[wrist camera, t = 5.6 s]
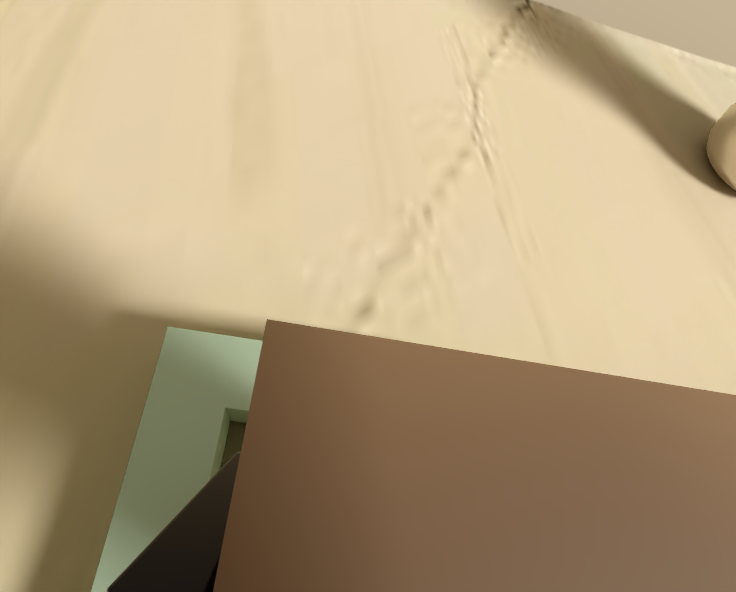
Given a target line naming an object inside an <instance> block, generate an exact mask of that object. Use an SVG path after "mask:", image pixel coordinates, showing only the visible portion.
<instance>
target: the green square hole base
mask: <svg viewBox="0 0 736 592" xmlns="http://www.w3.org/2000/svg"><path fill="white" fill-rule="evenodd" d="M262 342H263V341H261V340H255V339H248V338H241V337H235V336H228V335H222V334H215V333H209V332H202V331H196V330H189V329H183V328H176V327H169V326H168V327H167V331H166V334H165V338H164V341H163V345H162V348H161V352H160V355H159V358H158V362H157V365H156V369H155V372H154V376H153V379H152V383H151V386H150V389H149V393H148V396H147V400H146V403H145V407H144V410H143V414H142V417H141V420H140V424H139V427H138V431H137V434H136V438H135V441H134V445H133V448H132V452H131V455H130V458H129V462H128V465H127V469H126V472H125V476H124V479H123V483H122V486H121V489H120V493H119V496H118V500H117V503H116V507H115V510H114V514H113V517H112V521H111V524H110V527H109V531H108V534H107V538H106V541H105V545H104V548H103V552H102V555H101V558H100V562H99V565H98V569H97V572H96V576H95V579H94V583H93V586H92V590H91V592H107V588H108V587H109V586H110V585H111V584H112V583H113V582H114V581H115V580H116V579H117V577H118V576H119V575H120V574H121V573H122V572H123V571H124V570H125V569H126V568H127V567H128V566H129V565H130V564H131V563H132V562H133V561H134V560H135V558H136V557H137V556H138V555H139V554H140V553H141V552H142V551H143V550H144V549H145V548H146V547H147V546H148V545H149V544H150V543H151V542H152V541H153V539H154V538H155V537H156V536H157V535H158V534H159V533H160V532H161V531H162V530H163V529H164V528H165V527H166V526H167V525H168V524H169V523H170V521H171V520H172V519H173V518H174V517H175V516H176V515H177V514H178V513H179V512H180V511H181V510H182V509H183V508H184V507H185V506H186V505H187V504H188V502H189V501H190V500H191V499H192V498H193V497H194V496H195V495H196V494H197V493H198V492H199V491H200V490H201V489H202V488H203V487H204V486H205V485H206V483H207V482H208V481H209V480H210V479H211V478H212V477H213V476H214V475H215V474H216V473H217V472H218V471H219V470H220V468H221V463H222V458H223V453H224V449H225V444H226V439H227V434H228V430H229V425H230V421H236V422H244V423H247V418H248V413H249V408H250V403H251V398H252V392H253V387H254V382H255V377H256V372H257V367H258V362H259V357H260V352H261V347H262Z"/></svg>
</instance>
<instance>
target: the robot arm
mask: <svg viewBox="0 0 736 592" xmlns="http://www.w3.org/2000/svg"><path fill="white" fill-rule="evenodd" d="M240 453H241V452H237V453H235V454H234V455H233V456H232V457H231V458H230V459H229V460H228V461H227V462H226V463H225V464H224V465H223V467H222V468H221V469H220V470H219V471H218V472H217V473H216V474H215V475H214V476H213V477H212V478H211V479H210V480H209V481H208V482H207V483H206V485H205V486H204V487H203V488H202V489H201V490H200V491H199V492H198V493H197V494H196V495H195V496H194V497H193V498H192V499H191V500H190V501H189V502H188V504H187V505H186V506H185V507H184V508H183V509H182V510H181V511H180V512H179V513H178V514H177V515H176V516H175V517H174V518H173V519H172V520H171V521H170V523H169V524H168V525H167V526H166V527H165V528H164V529H163V530H162V531H161V532H160V533H159V534H158V535H157V536H156V537H155V538H154V539H153V541H152V542H151V543H150V544H149V545H148V546H147V547H146V548H145V549H144V550H143V551H142V552H141V553H140V554H139V555H138V556H137V557H136V558H135V560H134V561H133V562H132V563H131V564H130V565H129V566H128V567H127V568H126V569H125V570H124V571H123V572H122V573H121V574H120V575H119V576H118V577H117V579H116V580H115V581H114V582H113V583H112V584H111V585H110V586H109V587H108V588H107V592H213V589H214V584H215V579H216V574H217V569H218V564H219V559H220V554H221V549H222V544H223V539H224V534H225V529H226V524H227V519H228V513H229V508H230V503H231V498H232V493H233V488H234V483H235V478H236V473H237V468H238V463H239V458H240Z"/></svg>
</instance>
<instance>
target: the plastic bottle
mask: <svg viewBox="0 0 736 592" xmlns="http://www.w3.org/2000/svg"><path fill="white" fill-rule="evenodd" d="M707 155H708V158H709V161H710V163H711V165H712V166H713V168H714V170H715V171H716V173H717V174H718V175H719V176H720V177H721V178H722V180H723V181H724V182H725V183H727V184H728V185H729V186H730V187H732V188H733V189H734V190H736V103H734V104H733V105H732V106H730V107H729V108H728V110H727V111H726V112H725V113H724V114H723V115H722V116H721V117H720V119H719V120H718V121H717V122H716V123H715V124H714V126H713V127H712V129H711V132H710V135H709V138H708V142H707Z"/></svg>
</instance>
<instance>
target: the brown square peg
mask: <svg viewBox="0 0 736 592" xmlns="http://www.w3.org/2000/svg"><path fill="white" fill-rule="evenodd" d="M213 592H736V395H731V394H725V393H719V392H713V391H707V390H700V389H694V388H688V387H682V386H676V385H670V384H663V383H657V382H651V381H645V380H639V379H632V378H626V377H620V376H614V375H608V374H602V373H595V372H589V371H583V370H577V369H571V368H564V367H558V366H552V365H546V364H540V363H534V362H527V361H521V360H515V359H509V358H503V357H496V356H490V355H484V354H478V353H472V352H466V351H459V350H453V349H447V348H441V347H435V346H428V345H422V344H416V343H410V342H404V341H398V340H391V339H385V338H379V337H373V336H367V335H360V334H354V333H348V332H342V331H336V330H330V329H323V328H317V327H311V326H305V325H299V324H292V323H286V322H280V321H274V320H268V319H267V322H266V327H265V332H264V337H263V342H262V347H261V352H260V357H259V362H258V367H257V372H256V377H255V382H254V387H253V392H252V398H251V403H250V408H249V413H248V418H247V423H246V428H245V433H244V438H243V443H242V448H241V453H240V458H239V463H238V468H237V473H236V478H235V483H234V488H233V493H232V498H231V503H230V508H229V513H228V519H227V524H226V529H225V534H224V539H223V544H222V549H221V554H220V559H219V564H218V569H217V574H216V579H215V584H214V589H213Z"/></svg>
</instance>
